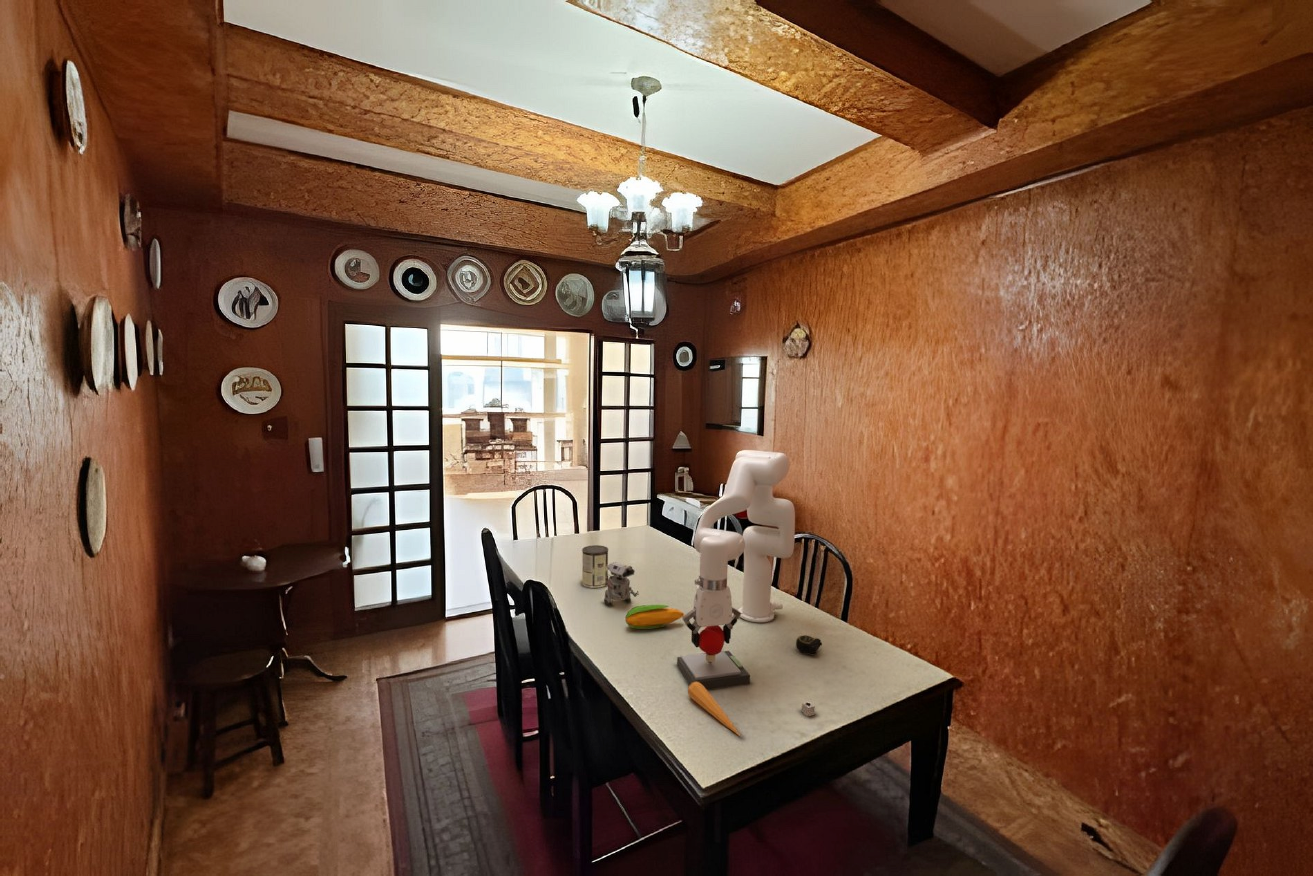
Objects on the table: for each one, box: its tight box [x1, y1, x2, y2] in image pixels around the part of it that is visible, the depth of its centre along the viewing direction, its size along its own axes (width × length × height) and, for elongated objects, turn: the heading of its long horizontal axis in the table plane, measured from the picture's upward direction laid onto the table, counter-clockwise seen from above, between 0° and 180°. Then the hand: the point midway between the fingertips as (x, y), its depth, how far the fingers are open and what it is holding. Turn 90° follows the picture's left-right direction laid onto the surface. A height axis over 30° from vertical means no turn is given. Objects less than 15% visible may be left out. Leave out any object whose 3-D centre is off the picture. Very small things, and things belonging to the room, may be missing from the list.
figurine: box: [603, 561, 640, 607], centre depth 200 cm, size 9×12×15 cm
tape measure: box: [795, 634, 823, 656], centre depth 169 cm, size 7×7×4 cm
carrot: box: [687, 682, 742, 738], centre depth 135 cm, size 20×4×4 cm, turn 31°
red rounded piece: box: [698, 625, 725, 663], centre depth 154 cm, size 9×7×10 cm
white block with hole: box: [801, 700, 816, 717], centre depth 137 cm, size 2×2×2 cm
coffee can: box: [581, 544, 609, 589], centre depth 221 cm, size 10×10×14 cm
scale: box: [676, 650, 751, 691], centre depth 154 cm, size 16×14×3 cm
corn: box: [625, 604, 685, 630], centre depth 183 cm, size 7×8×20 cm
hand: (710, 643), depth 153 cm, fingers closed on red rounded piece, 8 cm apart
